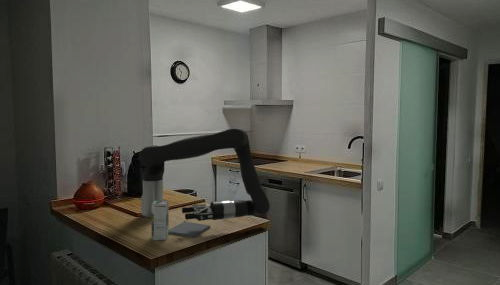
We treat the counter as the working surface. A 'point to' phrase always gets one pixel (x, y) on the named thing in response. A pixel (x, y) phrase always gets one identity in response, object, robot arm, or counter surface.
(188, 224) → the trivet mat
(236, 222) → the counter surface
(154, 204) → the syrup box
